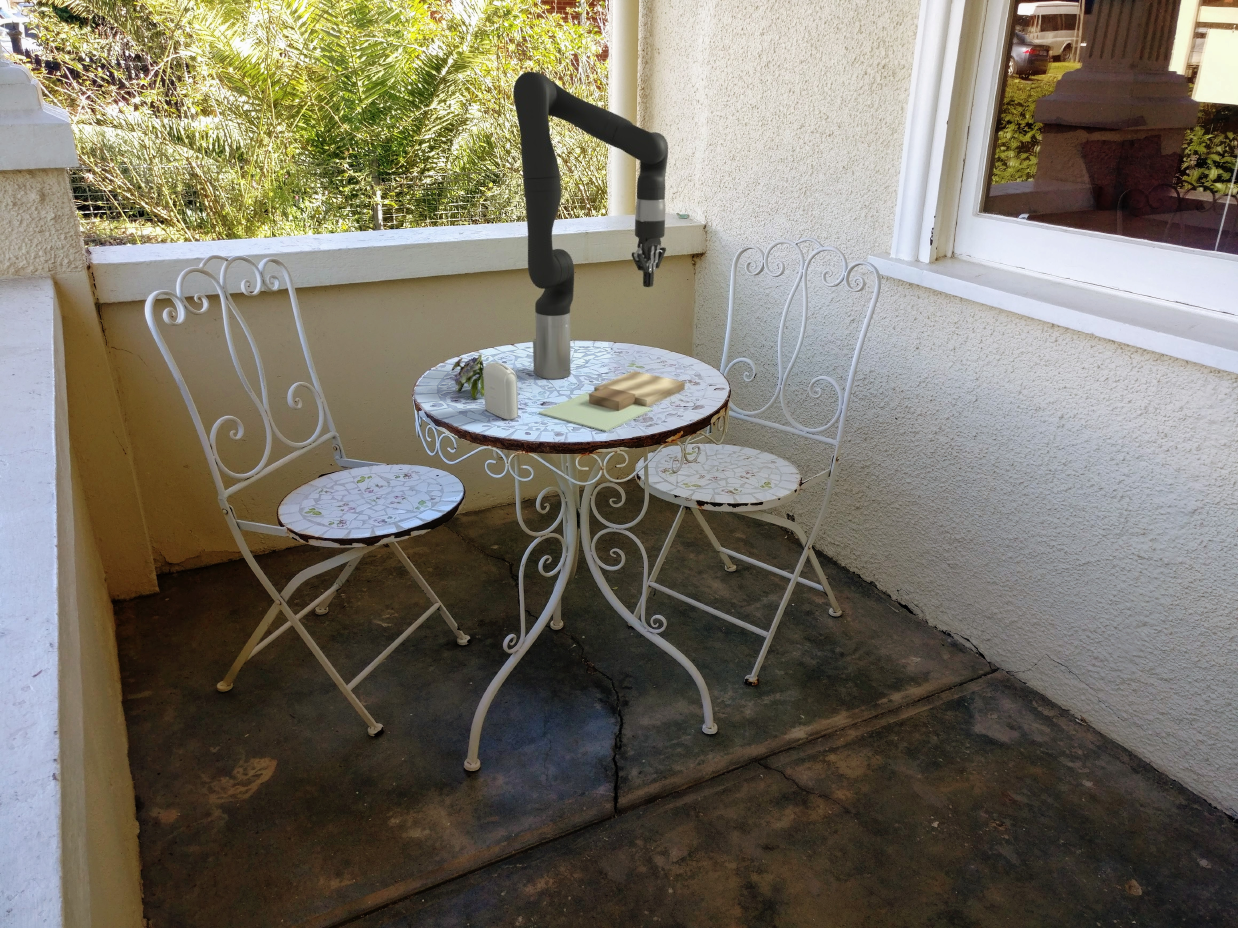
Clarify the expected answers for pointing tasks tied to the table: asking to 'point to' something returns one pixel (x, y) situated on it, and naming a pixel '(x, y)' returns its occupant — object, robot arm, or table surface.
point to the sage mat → (593, 413)
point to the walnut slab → (612, 398)
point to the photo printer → (500, 390)
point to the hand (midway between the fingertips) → (648, 286)
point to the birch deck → (645, 387)
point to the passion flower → (470, 375)
